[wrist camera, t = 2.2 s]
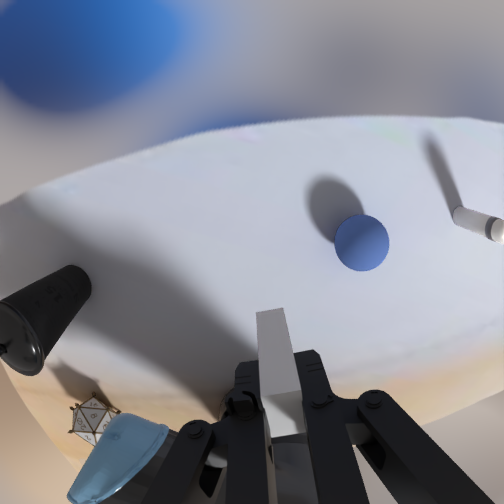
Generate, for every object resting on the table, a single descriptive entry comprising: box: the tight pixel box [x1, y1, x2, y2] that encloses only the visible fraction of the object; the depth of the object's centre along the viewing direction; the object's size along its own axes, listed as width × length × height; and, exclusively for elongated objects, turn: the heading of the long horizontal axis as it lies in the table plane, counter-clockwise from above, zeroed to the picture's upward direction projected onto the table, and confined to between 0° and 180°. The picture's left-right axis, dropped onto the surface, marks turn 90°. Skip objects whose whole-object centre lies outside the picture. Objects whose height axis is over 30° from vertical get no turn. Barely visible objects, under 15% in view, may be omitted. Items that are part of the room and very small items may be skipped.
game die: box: [68, 392, 121, 446], centre depth 34 cm, size 9×8×10 cm
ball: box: [334, 215, 389, 271], centre depth 28 cm, size 6×6×6 cm
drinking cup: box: [0, 265, 91, 376], centre depth 22 cm, size 8×8×20 cm
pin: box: [453, 206, 504, 244], centre depth 26 cm, size 2×2×8 cm
